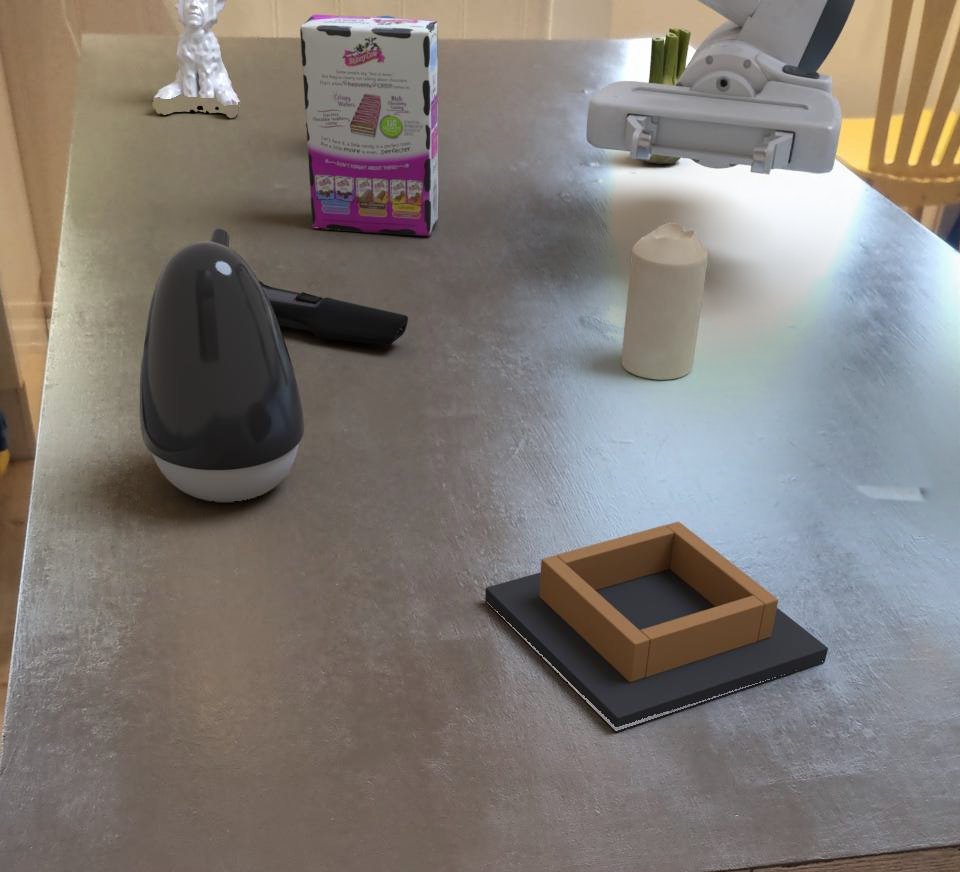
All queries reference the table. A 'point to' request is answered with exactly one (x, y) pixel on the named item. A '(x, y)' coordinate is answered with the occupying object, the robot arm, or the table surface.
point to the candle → (664, 303)
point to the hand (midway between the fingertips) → (700, 155)
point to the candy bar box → (372, 123)
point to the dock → (653, 623)
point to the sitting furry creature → (200, 55)
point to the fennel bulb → (668, 68)
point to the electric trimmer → (335, 317)
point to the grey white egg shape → (217, 378)
